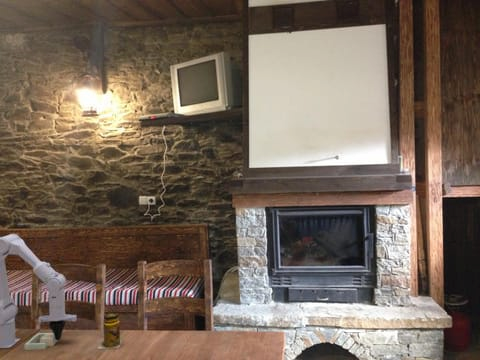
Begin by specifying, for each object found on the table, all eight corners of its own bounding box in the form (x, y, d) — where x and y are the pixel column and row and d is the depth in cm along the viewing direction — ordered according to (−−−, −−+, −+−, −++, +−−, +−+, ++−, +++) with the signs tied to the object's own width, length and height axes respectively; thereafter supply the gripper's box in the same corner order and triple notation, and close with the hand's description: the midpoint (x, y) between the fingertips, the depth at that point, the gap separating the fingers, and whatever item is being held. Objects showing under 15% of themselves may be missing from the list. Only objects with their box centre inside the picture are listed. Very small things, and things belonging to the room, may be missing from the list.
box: (24, 349, 160) (24, 344, 160) (38, 337, 171) (38, 333, 171) (45, 349, 160) (45, 344, 160) (57, 337, 171) (57, 332, 171)
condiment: (119, 347, 160) (118, 317, 159) (97, 349, 159) (96, 319, 158) (122, 340, 167) (121, 310, 167) (100, 341, 166) (99, 312, 165)
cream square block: (40, 346, 163) (39, 338, 163) (45, 341, 168) (45, 333, 168) (52, 345, 163) (52, 338, 163) (58, 340, 168) (57, 333, 168)
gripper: (79, 301, 169) (80, 334, 170) (43, 302, 169) (44, 335, 169) (72, 307, 162) (73, 341, 163) (35, 308, 162) (36, 342, 162)
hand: (58, 338), depth 166 cm, fingers closed
